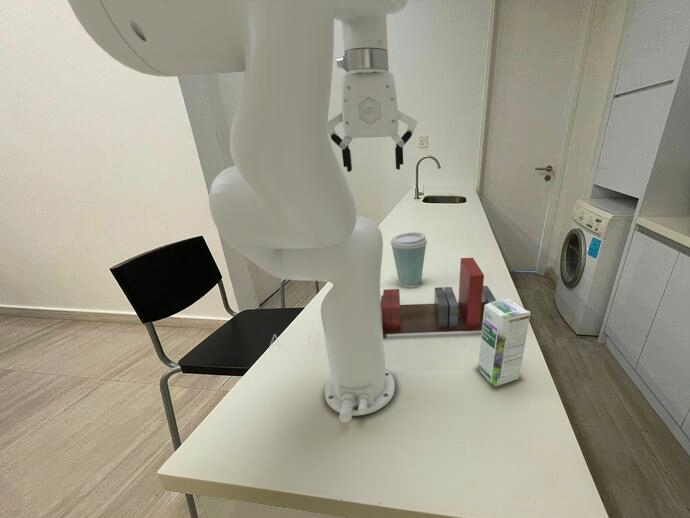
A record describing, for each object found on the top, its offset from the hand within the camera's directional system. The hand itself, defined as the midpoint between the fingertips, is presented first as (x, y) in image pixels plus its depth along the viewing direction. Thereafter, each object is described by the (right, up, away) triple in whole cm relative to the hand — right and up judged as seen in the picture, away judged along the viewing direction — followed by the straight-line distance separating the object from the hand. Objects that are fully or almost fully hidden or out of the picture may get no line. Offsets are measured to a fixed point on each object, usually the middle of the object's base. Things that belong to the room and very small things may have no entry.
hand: (373, 169), depth 66 cm
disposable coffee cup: (+8, -21, +36) cm, 43 cm away
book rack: (+15, -31, +16) cm, 38 cm away
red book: (+22, -30, +15) cm, 40 cm away
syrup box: (+24, -40, -3) cm, 47 cm away
